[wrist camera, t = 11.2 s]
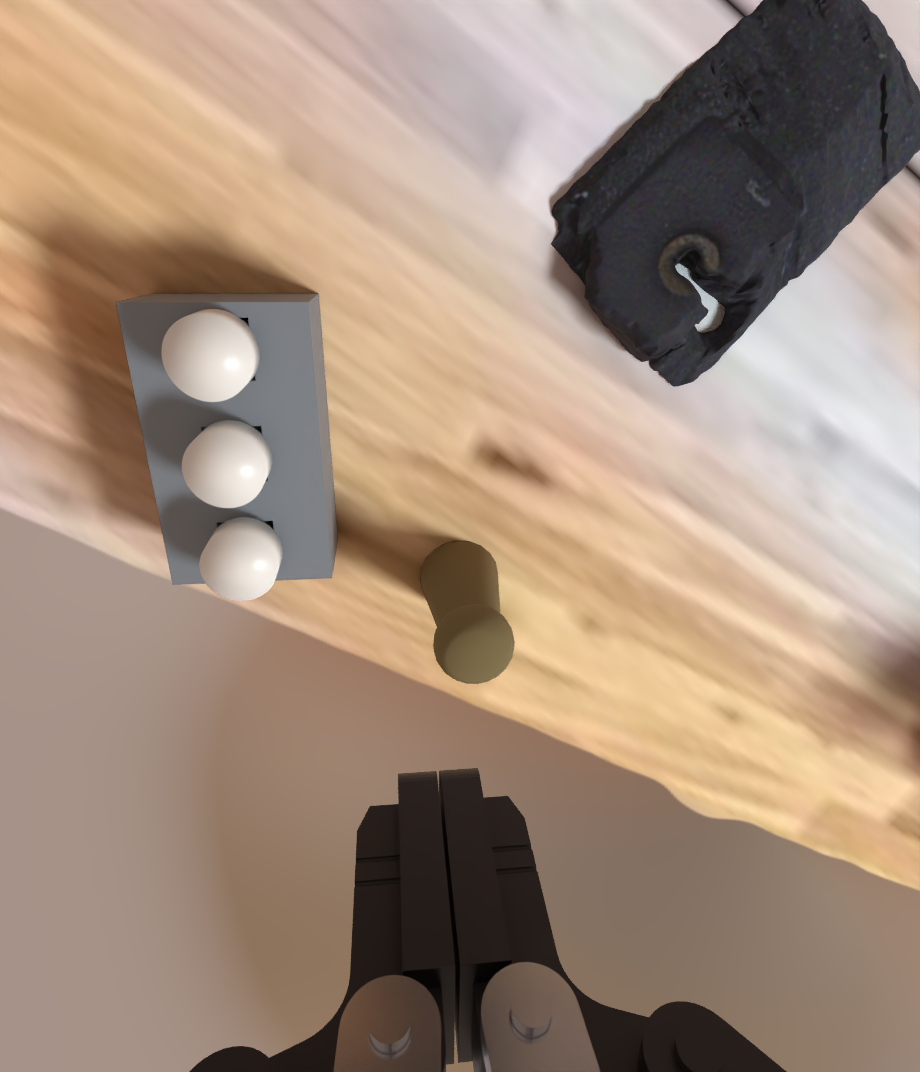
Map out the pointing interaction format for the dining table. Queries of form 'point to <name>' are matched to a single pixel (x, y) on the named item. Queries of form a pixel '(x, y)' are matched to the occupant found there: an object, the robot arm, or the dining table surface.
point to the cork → (467, 612)
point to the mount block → (268, 401)
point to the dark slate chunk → (739, 177)
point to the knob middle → (227, 463)
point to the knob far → (241, 559)
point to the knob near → (210, 354)
